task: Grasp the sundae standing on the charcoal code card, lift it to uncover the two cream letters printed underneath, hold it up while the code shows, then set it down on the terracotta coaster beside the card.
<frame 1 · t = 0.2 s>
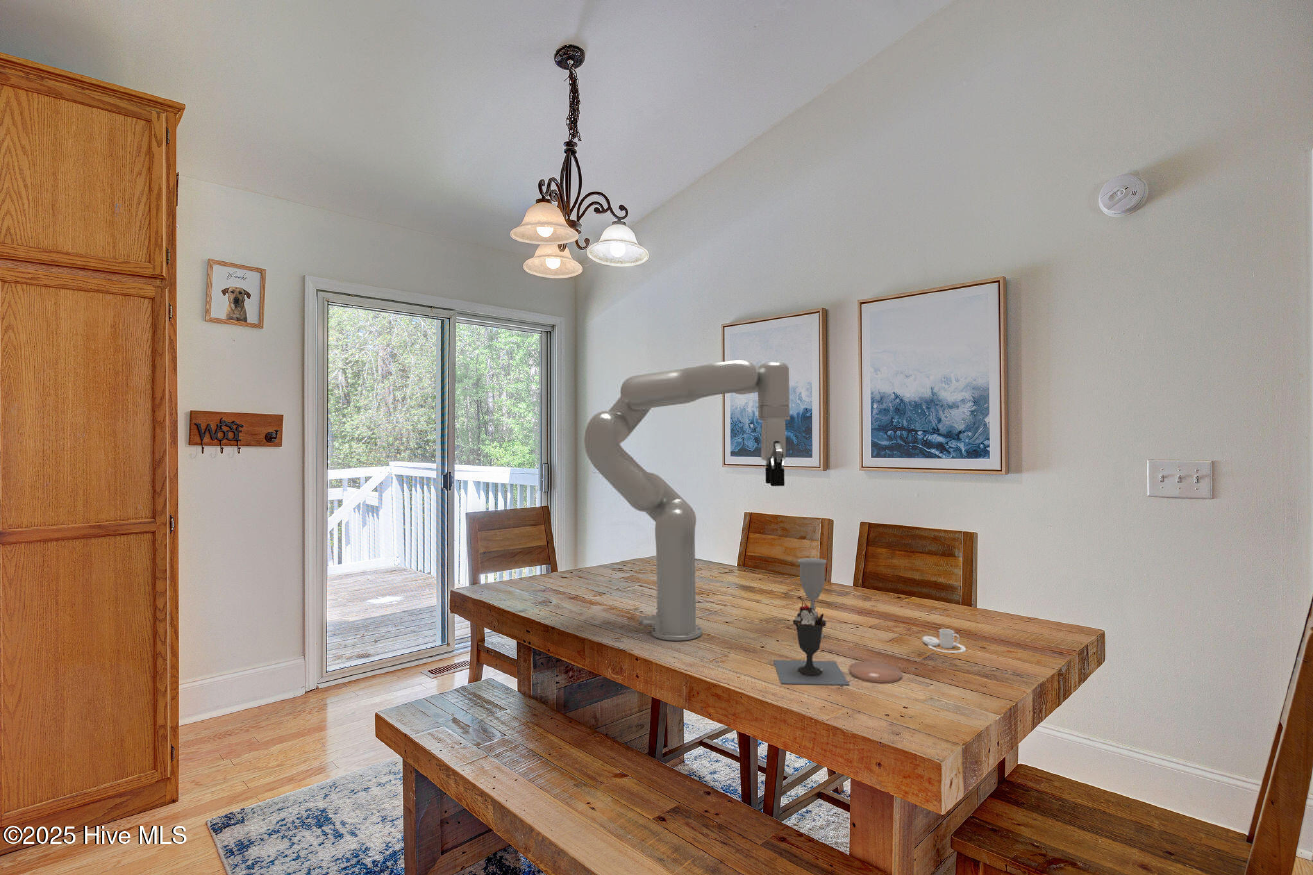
hand: (774, 484, 153), 36 cm above the table, tool pointing down, fingers open, 9 cm apart
teacup and saucer: (943, 645, 147), on the table
coaster: (874, 673, 128), on the table
code card: (809, 672, 129), on the table
sundae: (809, 672, 129), resting on code card
chalice: (813, 636, 153), on the table
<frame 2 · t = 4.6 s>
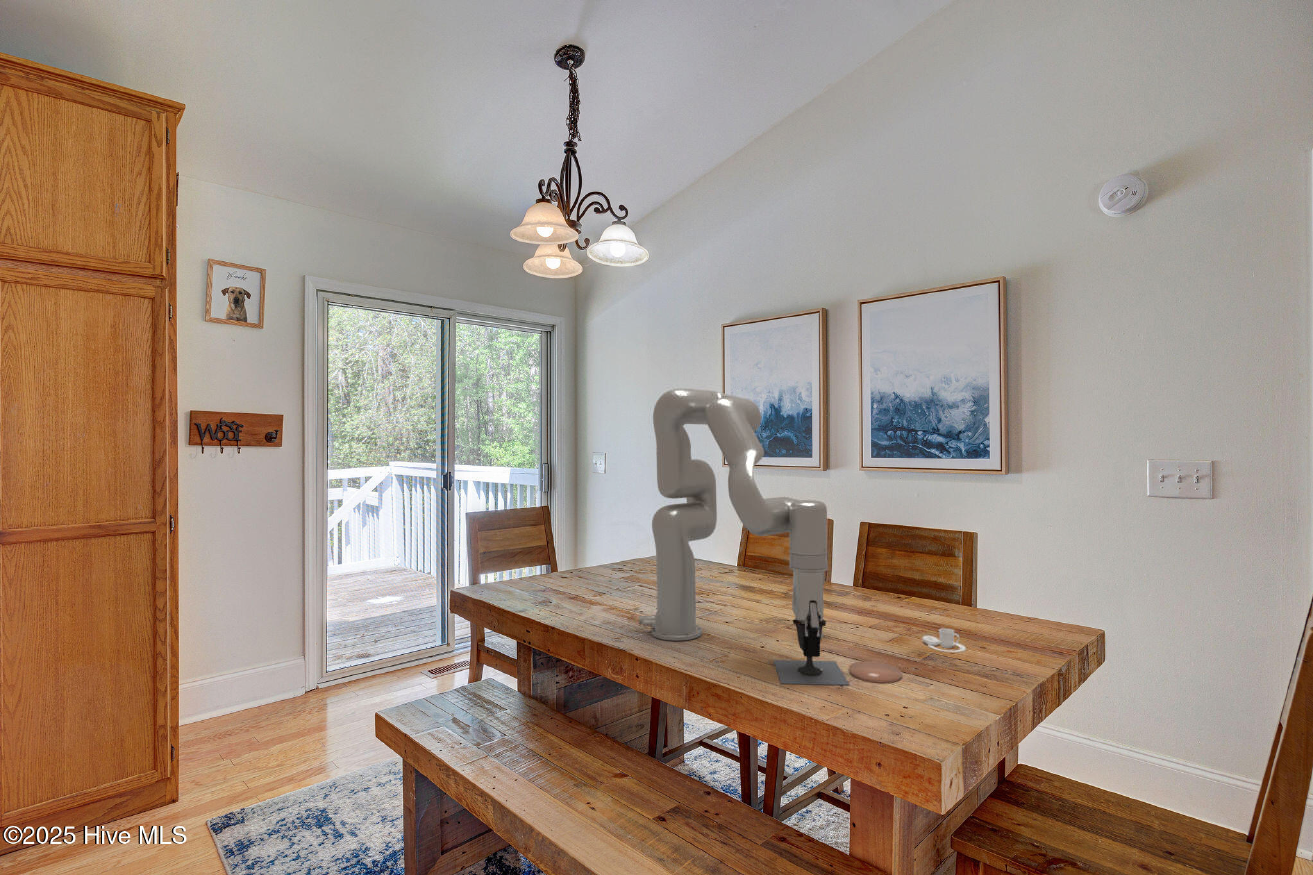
hand: (809, 650, 129), 4 cm above the table, tool pointing down, fingers closed on sundae, 4 cm apart
sundae: (809, 672, 129), resting on code card, touching gripper
everything else where it was.
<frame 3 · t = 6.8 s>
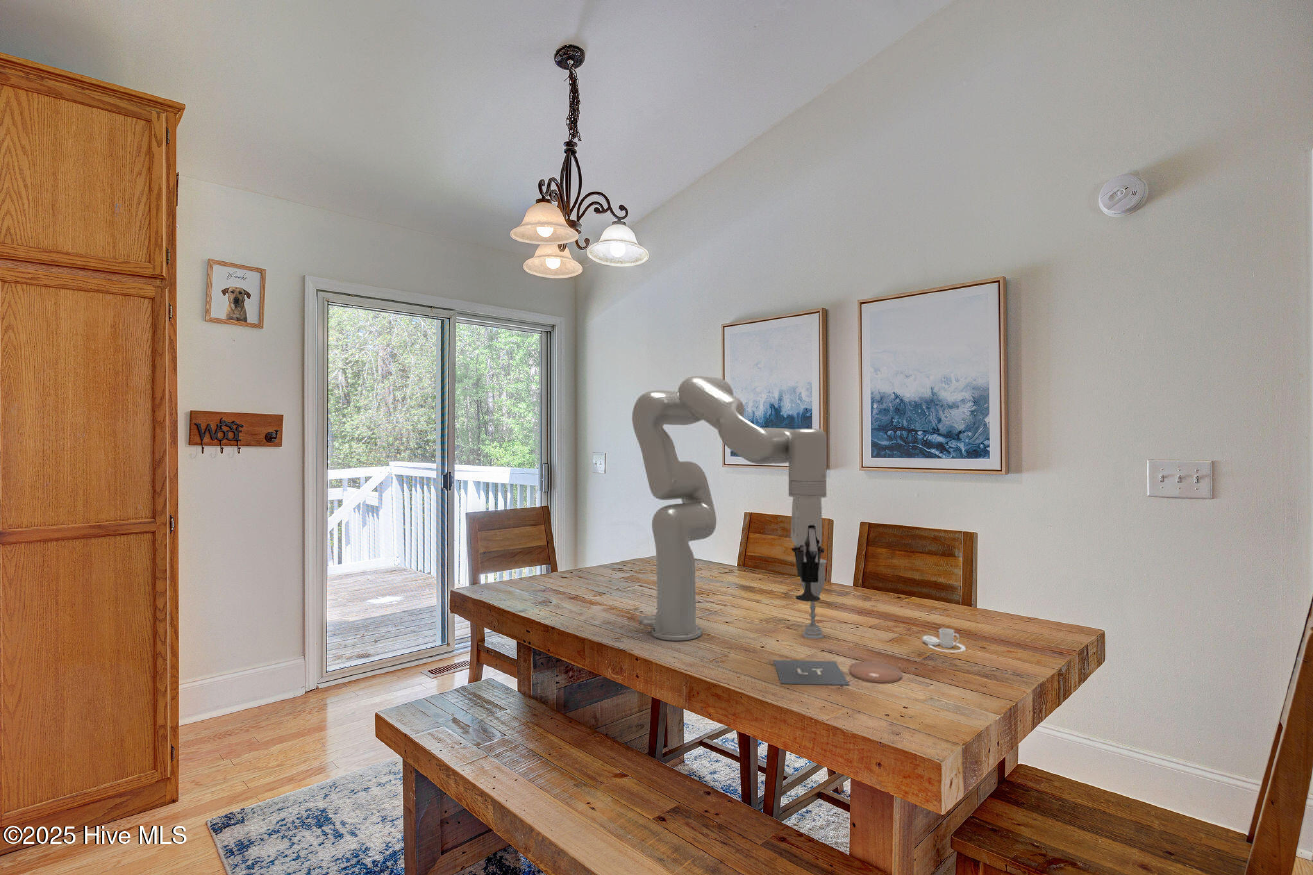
hand: (807, 578, 129), 19 cm above the table, tool pointing down, fingers closed on sundae, 4 cm apart
sundae: (807, 599, 129), point 15 cm above the table, touching gripper
everything else where it was.
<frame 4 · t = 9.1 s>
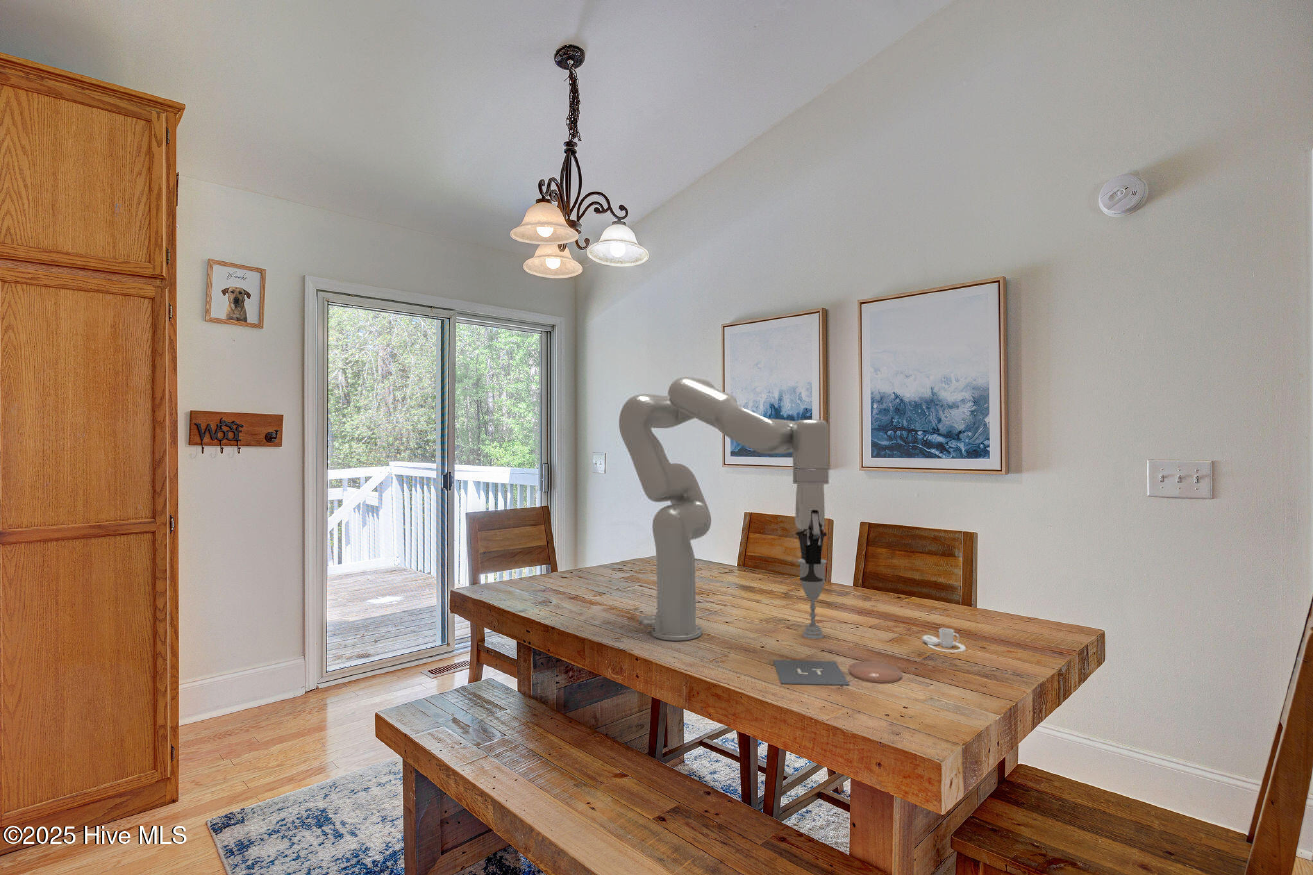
hand: (811, 560, 137), 21 cm above the table, tool pointing down, fingers closed on sundae, 4 cm apart
sundae: (811, 580, 137), point 17 cm above the table, touching gripper
everything else where it was.
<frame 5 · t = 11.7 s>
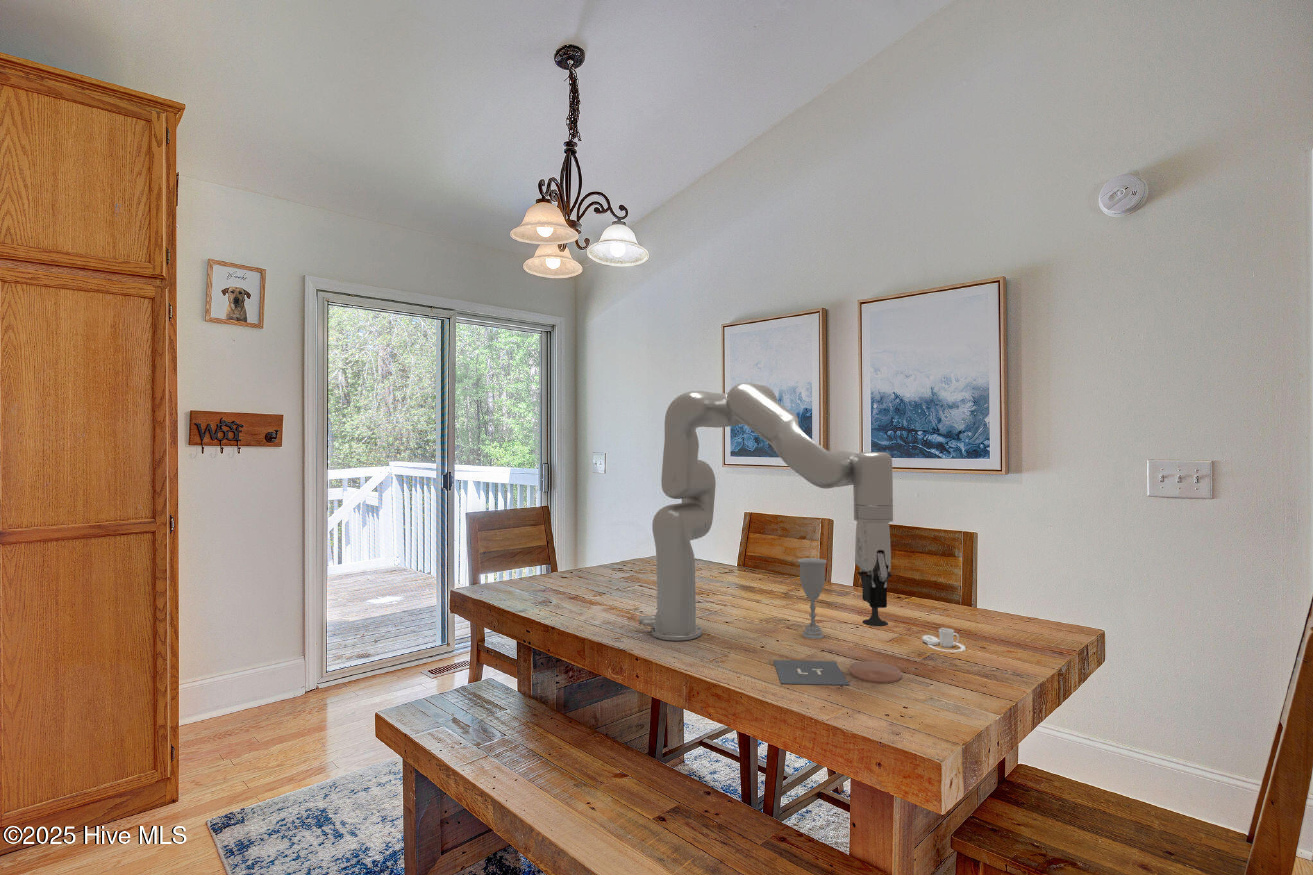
hand: (874, 602, 128), 14 cm above the table, tool pointing down, fingers closed on sundae, 4 cm apart
sundae: (874, 624, 128), point 10 cm above the table, touching gripper
everything else where it was.
when the fingers open (6 cm above the table, at t = 13.8 s): sundae moves 1 cm, point 1 cm above the table.
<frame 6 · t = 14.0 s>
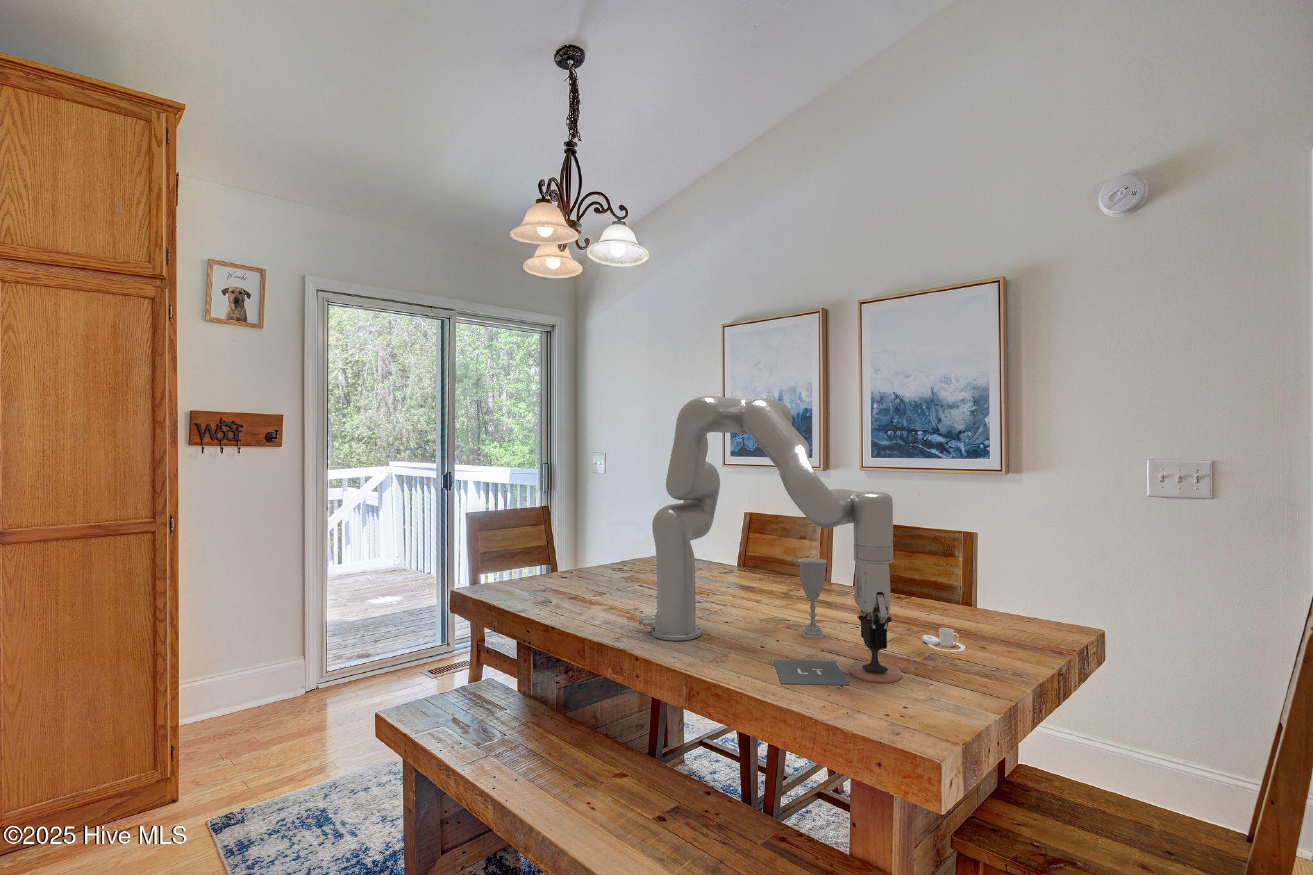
hand: (873, 641, 128), 6 cm above the table, tool pointing down, fingers open, 6 cm apart
sundae: (874, 669, 127), point 1 cm above the table, touching gripper
everything else where it was.
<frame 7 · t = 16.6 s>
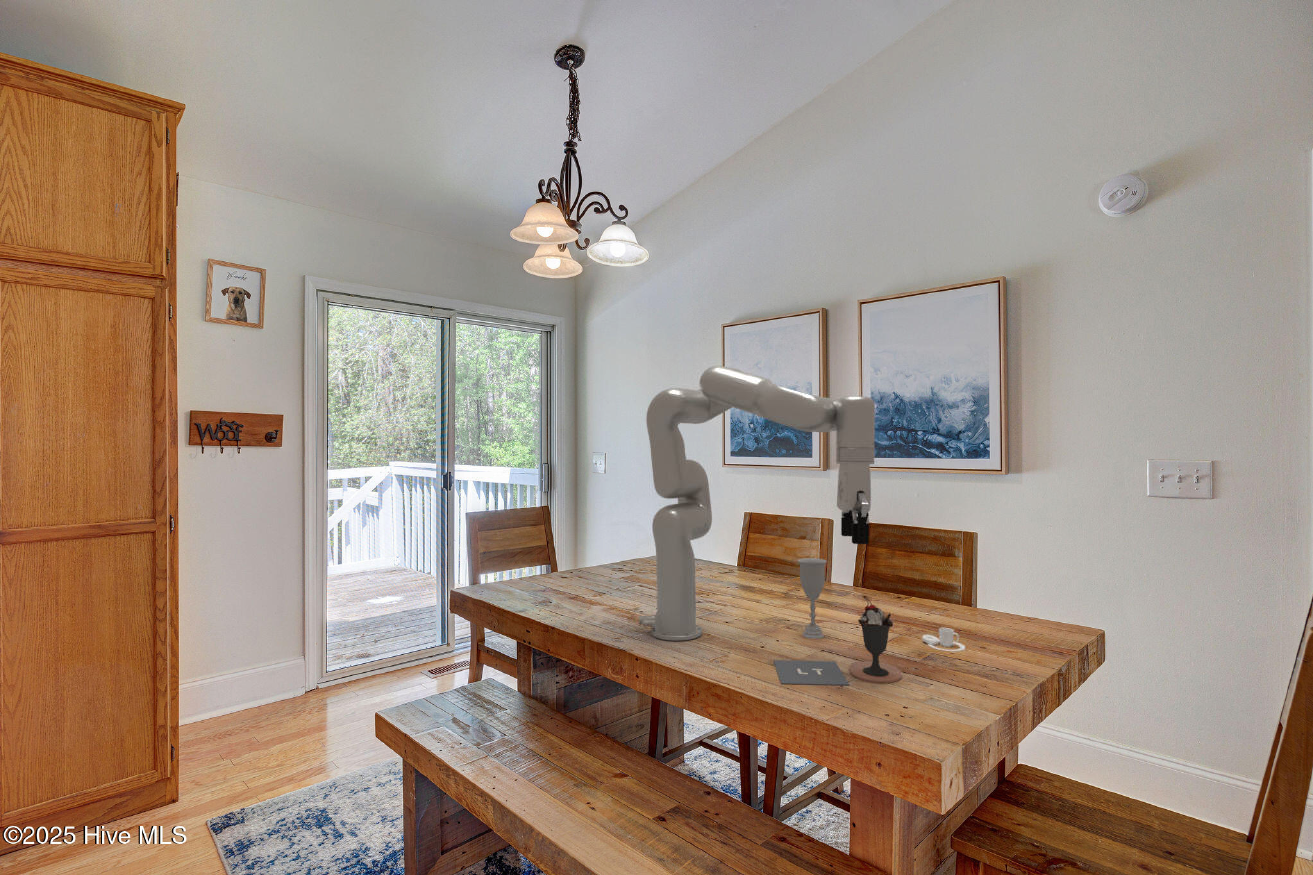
hand: (854, 539, 131), 27 cm above the table, tool pointing down, fingers open, 9 cm apart
sundae: (875, 673, 126), point 1 cm above the table, touching coaster
everything else where it was.
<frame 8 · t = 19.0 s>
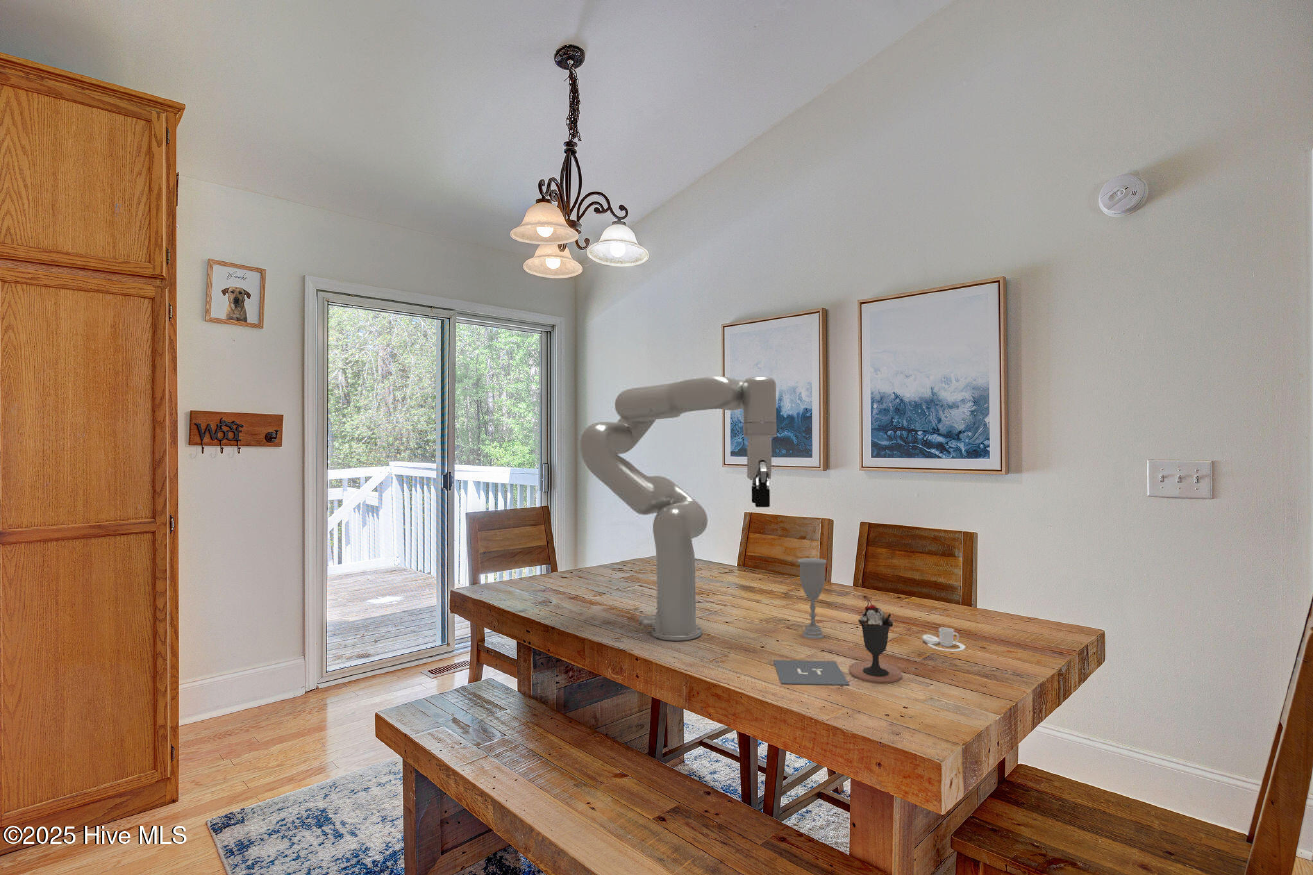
hand: (760, 504, 146), 32 cm above the table, tool pointing down, fingers open, 9 cm apart
at the end: sundae 1.4 cm from the coaster (horizontally); sundae tilted 0°; the gripper is holding nothing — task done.
